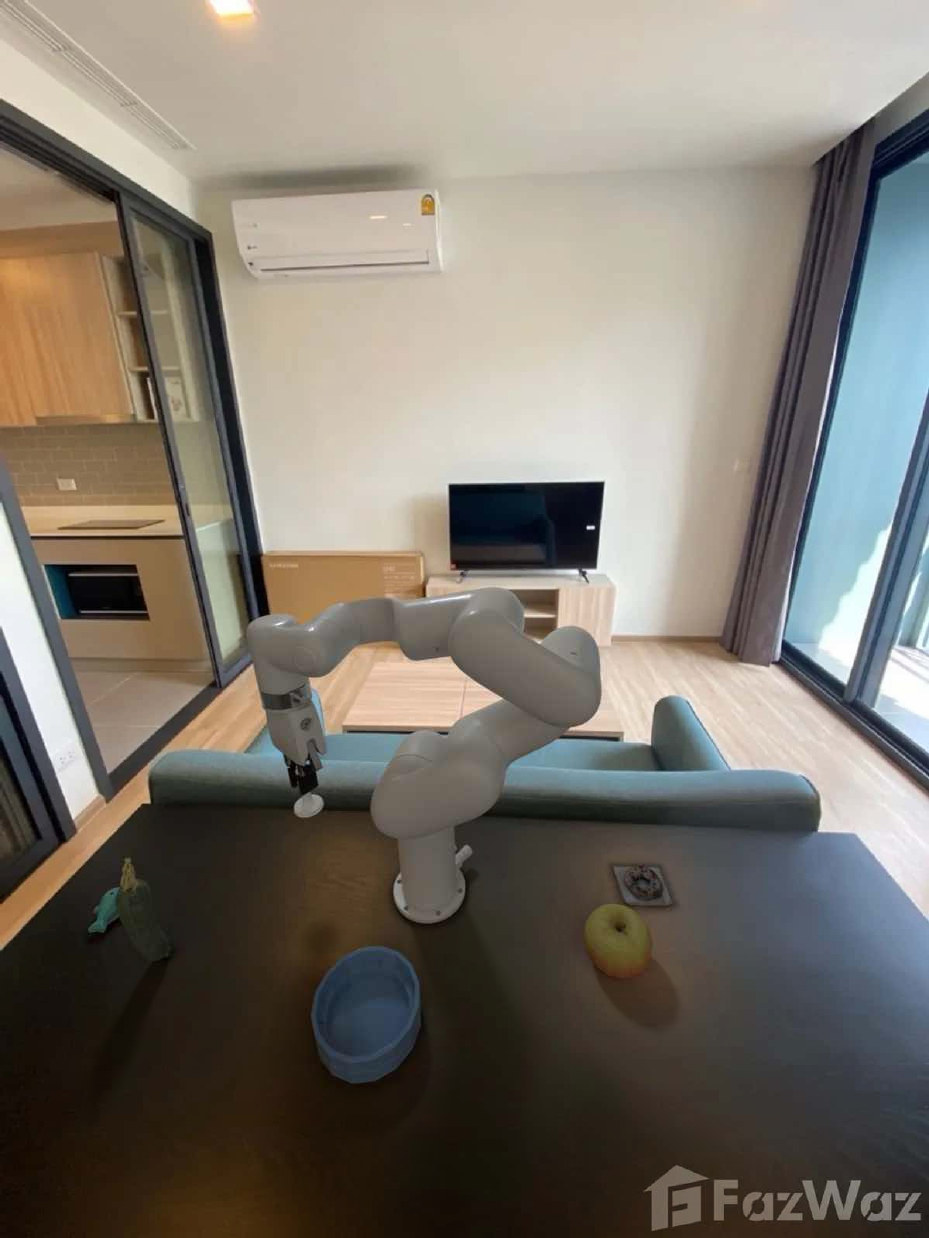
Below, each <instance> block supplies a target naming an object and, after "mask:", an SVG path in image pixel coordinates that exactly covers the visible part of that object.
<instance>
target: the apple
mask: <svg viewBox="0 0 929 1238" xmlns="http://www.w3.org/2000/svg"><path fill="white" fill-rule="evenodd" d="M583 933H584V934H583V943H584V947H585V950H586V953H587V955H588V957H589V958H590V960H591V961H592V963H593V964H594V965H595V967H596V968H597V969H599V970H600V971H601V972H602V973H603V974H605V975H606V976H608V977H612V978H614V979H617V980H619V979H620V980H623V979H624V980H625V979H626V980H630V979H631V978H634V977H637V976H638V975H640V974H642V973H643V972H644V971H645V970H646V968H647V967H648V965H649V964H650V962H651V957H652V952H653V939H652V934H651V931H650V929H649V927H648V926H647V924H646V922H645V920H644V919H643V917H642V916H641V915H639V914H638V913H637V912H636V911H635V910H633V909H631V908H629V907H627V906H626V905H624V904H618V903H614V902H613V903H606V904H602V905H600V906H599V907H597V908H596V909H595V910H593V911H592V912H591V913H590V914H589V916H588V918H587V920H586V921H585V925H584V932H583Z"/></svg>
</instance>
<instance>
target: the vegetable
mask: <svg viewBox="0 0 929 1238" xmlns="http://www.w3.org/2000/svg"><path fill="white" fill-rule="evenodd" d="M123 861H125V862H124V865H123V866H122V867H121V871H122V875H121V878H120V883H119V884H120V886H119V887H120V888H119V890H118V892H117V895H116V898H115V904H116V909H117V912H118V915H119V917H118V918H119V920H120V922H121V923H122V925H123V927H124V928H125V931H126V933H127V935H128V936H129V938H130V940H131V941H132V943H133V945H134V946H135V947H134V948H136V950H137V952H138V953H139V954H140V955H141V956H142V957H143V958H144V959H145V960H147V961H148V962H151V963H154V962H158V961H160V960H162V959H164V958H166V957H169V955H170V954H169V952H170V951H171V946H170V942H169V940H168V939H167V936H166V935H165V933H164V932H163V930H162V928H161V927H160V926H159V924H158V922H157V920H156V917H155V913H154V905H153V894H152V890H151V888H150V885H148V883H147V882H146V881H145V880H143V879H141V878H136V871H135V868H134V865H133V864H131V863H132V858H131V857H125V858H124V859H123Z"/></svg>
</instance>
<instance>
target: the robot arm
mask: <svg viewBox="0 0 929 1238" xmlns="http://www.w3.org/2000/svg"><path fill="white" fill-rule="evenodd" d="M524 629H525V612H524V607H523V605H522V603H521V601H520V599H519V598H518V596H517V595H515V593H514V592H512V591H511V590H509V589H507V588H504V587H498V586H489V587H480V588H475V589H468V590H461V591H457V592H450V593H445V594H438V595H431V596H427V597H420V598H414V599H401V598H393V597H386V596H375V597H374V596H373V597H366V598H360V599H355V600H349V601H343V602H340V603H336V604H333V605H329V606H328V607H326V608H325V609H323V610H322V611H320V612H319V613H318V614H316V615H315V616H314V617H312V618H311V619H310V620H309V621H307V622H304V623H303V624H301V625H300V622H299V621H298V620H297V618H296V617H295V616H293V615H291V614H287V613H271V614H267V615H263V616H260V617H258V618H255V619H253V620H252V621H251V622H250V623H249V624H248V625H247V628H246V639H247V643H248V649H249V653H250V657H251V661H252V665H253V671H254V676H255V679H256V680H255V681H256V684H257V689H258V692H259V697H260V702H261V707H262V709H263V710H264V712H265V718H266V723H267V724H266V725H267V730H268V733H269V738H270V741H271V743H272V745H273V747H274V748H275V749H276V750H278V751H279V752H280V753H281V754H282V756H283V761H284V765H285V766H286V767H287V774H288V779H289V783H290V787H291V788H292V789H295V788H298V790H299V794H300V795H301V796H302V795H303V796H304V795H305V794H307V793H309V792H310V793H311V792H312V791H313V790H315V789H317V788H318V787H319V780H318V775H317V772H318V771H321V770H322V769H323V768H324V766H323V763H322V761H321V758H320V756H319V754H320V755H321V756H324V755H325V754H327V750H328V749H327V743H326V739H325V734H324V731H323V727H322V723H321V718H320V716H319V713H318V709H317V707H316V705H315V702H314V701H313V700H312V699H313V692H312V687H311V682H310V679H311V678H313V679H318V678H322V677H326V676H327V675H329V674H330V673H331V672H332V671H334V669H336V667H338V665H339V664H340V663H342V661H343V660H344V659H345V658H346V657H347V656H348V655H349V654H350V653H351V652H352V651H354V649H355V648H356V647H358V646H362V645H363V646H364V645H369V644H374V643H385V642H391V643H397V644H398V647H399V649H400V651H401V652H402V654H403V656H404V657H406V658H407V659H409V660H410V661H414V662H419V661H427V660H433V659H442V658H448V657H450V658H451V661H452V662H453V663H454V665H455V667H457V668H458V669H459V670H460V671H461V672H462V673H463V674H465V675H466V676H467V677H469V678H470V679H471V680H473V681H474V682H476V683H477V684H479V685H480V686H482V687H484V688H485V689H487V690H489V692H492V693H493V694H495V695H497V696H498V697H500V698H501V699H499V700H497V701H495V702H492V703H491V704H488V705H485V706H484V707H481V708H479V709H477V710H475V711H472V712H470V713H468V714H466V715H463V716H462V717H460V718H459V719H457V720H456V721H455V722H454V723H453V725H452V726H451V727H450V729H449V731H448V734H447V735H446V737H445V736H443V735H442V734H441V733H439V732H437V731H434V730H429V729H420V730H416V731H413V732H412V733H410V734H409V735H407V736H406V737H405V738H403V740H402V741H401V742H400V744H398V746H397V748H396V749H395V751H394V753H393V755H392V757H391V759H390V760H389V762H388V763H387V766H386V767H385V770H384V772H383V774H382V775H381V777H380V779H379V781H378V783H377V785H376V787H375V789H374V791H373V793H372V796H371V800H370V816H371V819H372V822H373V824H374V825H375V827H376V828H377V830H379V831H380V832H381V833H382V834H384V835H386V836H387V837H389V838H391V839H392V838H393V839H397V851H398V859H399V869H400V870H399V871H400V872H398V875H397V876H396V878H395V880H394V883H393V889H392V890H393V892H392V893H393V900H394V905H395V906H396V908H397V910H398V911H399V913H400V914H402V915H403V916H404V917H405V918H406V919H408V920H410V921H412V922H415V923H419V924H434V923H439V922H442V921H444V920H446V919H448V918H449V917H451V916H452V915H453V914H454V913H456V912H457V911H458V910H459V908H460V907H461V905H462V904H463V901H464V899H465V895H466V880H465V877H464V875H463V872H462V871H461V868H462V867H463V863H464V862H465V861H467V859H468V858H469V857H471V856H472V855H473V853H474V852H473V848H472V847H471V846H469V845H468V844H465V845H464V846H463V847H461V849H460V850H458V847H457V845H456V835H455V833H456V832H455V827H456V826H458V825H461V824H464V823H467V822H469V821H472V820H474V819H477V818H479V817H481V816H482V815H484V814H486V812H488V811H489V810H491V809H492V808H493V806H494V805H496V804H497V802H498V800H499V798H500V796H501V794H502V792H503V787H504V785H505V784H504V783H505V779H506V775H507V771H508V769H509V767H510V766H511V764H512V763H515V761H518V760H520V759H521V758H524V757H526V756H527V755H529V754H532V753H533V752H536V751H538V750H540V749H542V748H545V747H546V746H548V745H550V744H552V743H553V742H555V741H556V740H558V739H560V738H561V737H562V736H563V735H564V734H566V733H567V732H568V731H569V730H570V729H571V728H576V727H579V726H583V725H584V724H586V723H588V722H589V721H590V720H591V719H592V718H594V716H596V714H597V712H598V710H599V708H600V705H601V703H602V702H601V701H602V695H603V689H602V676H601V658H600V657H601V656H600V650H599V646H598V644H597V642H596V640H595V638H594V637H593V636H592V634H591V633H590V632H589V631H588V630H586V629H584V628H583V627H580V626H577V625H566V626H561V627H558V628H556V629H554V630H553V631H551V632H550V633H548V634H547V635H546V636H545V637H544V638H543V640H542V641H541V642H540V643H539V642H537V641H536V640H534V638H533V639H532V638H531V637H530V636H528V635H527V634H526V633H524ZM307 762H308V763H307ZM296 765H297V768H296ZM303 766H304V767H303ZM296 769H297V770H298V775H297V774H296V773H295V770H296ZM297 781H298V784H297ZM457 850H458V852H457V853H456V851H457Z"/></svg>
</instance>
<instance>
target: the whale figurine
mask: <svg viewBox="0 0 929 1238" xmlns="http://www.w3.org/2000/svg"><path fill="white" fill-rule="evenodd" d="M120 887H121V886H117V887H114V888H111V889H109V890H108V891H106V892H105V893H104V895H102V897H101V899H100V902H99V904H98V905H96V907H94V909H93V914H94V915H97V916H96V920H95V921H94V922H93V923H92V924H90V926H89V927H88V930H87V931H88V933H96V932H98V933H105V932H106V931H107V928H108V926H109V925H111V923H114V921H116V920H117V919H118V918H119V915H118V912H117V909H116V904H115V898H116V895H117V892H118V890H119V888H120Z"/></svg>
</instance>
